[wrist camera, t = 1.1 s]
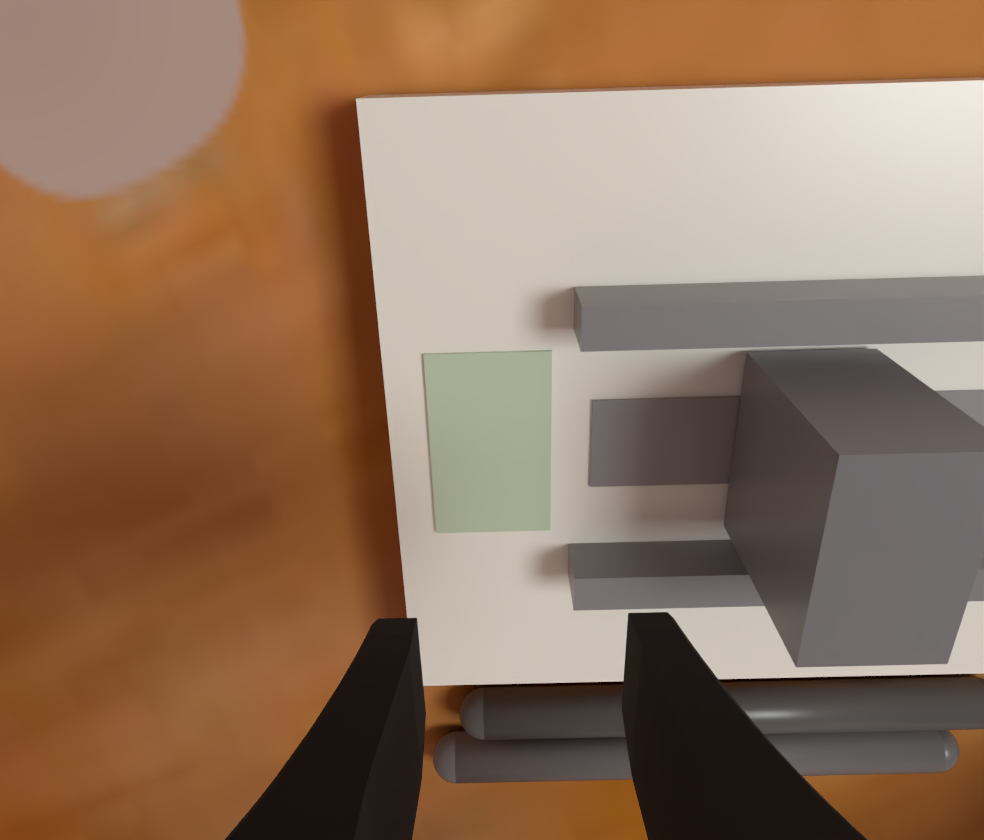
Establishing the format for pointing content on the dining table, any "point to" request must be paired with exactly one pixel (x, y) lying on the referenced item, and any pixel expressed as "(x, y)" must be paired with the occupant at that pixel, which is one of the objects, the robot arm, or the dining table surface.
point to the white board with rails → (651, 386)
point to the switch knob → (855, 506)
